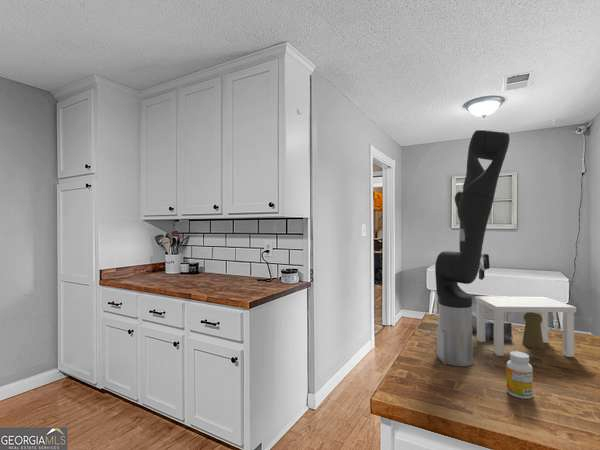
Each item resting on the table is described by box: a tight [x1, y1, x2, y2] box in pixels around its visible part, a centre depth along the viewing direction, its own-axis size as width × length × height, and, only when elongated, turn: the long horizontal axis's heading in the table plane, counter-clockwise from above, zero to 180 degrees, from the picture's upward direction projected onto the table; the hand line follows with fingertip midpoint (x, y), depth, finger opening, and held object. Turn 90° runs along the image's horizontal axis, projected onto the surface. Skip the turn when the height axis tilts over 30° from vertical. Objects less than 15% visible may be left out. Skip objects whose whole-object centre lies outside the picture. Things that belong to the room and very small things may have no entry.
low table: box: [474, 295, 577, 358], centre depth 111 cm, size 24×14×16 cm, turn 86°
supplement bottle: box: [506, 350, 534, 400], centre depth 82 cm, size 5×5×10 cm
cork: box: [522, 312, 545, 350], centre depth 113 cm, size 6×6×11 cm
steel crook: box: [472, 310, 513, 341], centre depth 129 cm, size 9×20×6 cm, turn 177°
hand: (470, 279), depth 135 cm, fingers open, 8 cm apart
